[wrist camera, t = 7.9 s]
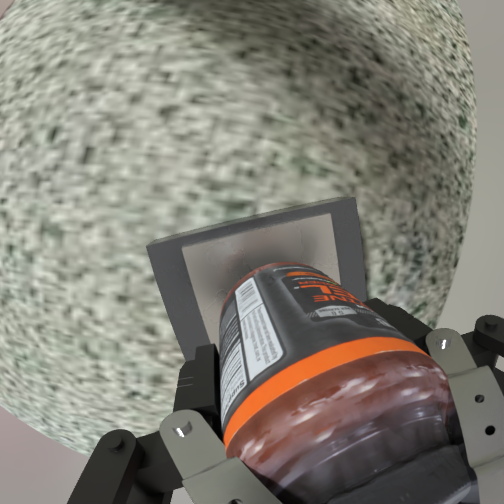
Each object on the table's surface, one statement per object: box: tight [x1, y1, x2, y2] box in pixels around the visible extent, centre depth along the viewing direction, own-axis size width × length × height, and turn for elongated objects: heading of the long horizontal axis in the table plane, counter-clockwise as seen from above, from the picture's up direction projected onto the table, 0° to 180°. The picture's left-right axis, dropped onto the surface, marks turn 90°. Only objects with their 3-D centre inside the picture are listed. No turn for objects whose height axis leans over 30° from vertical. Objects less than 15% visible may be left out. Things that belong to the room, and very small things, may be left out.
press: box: [146, 197, 367, 361], centre depth 13 cm, size 19×12×12 cm, turn 13°
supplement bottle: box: [219, 262, 471, 504], centre depth 7 cm, size 6×6×11 cm
